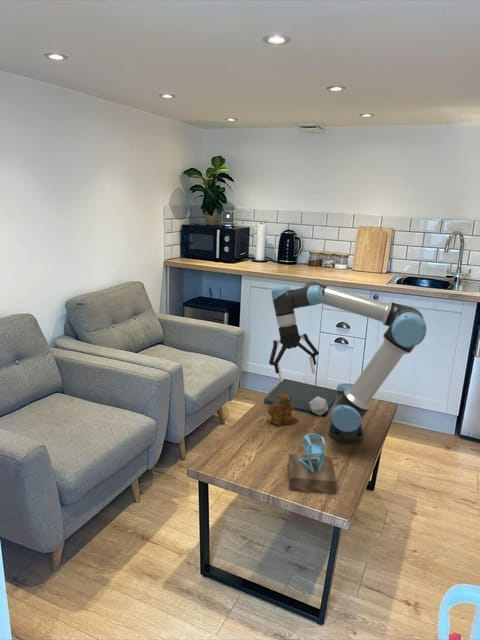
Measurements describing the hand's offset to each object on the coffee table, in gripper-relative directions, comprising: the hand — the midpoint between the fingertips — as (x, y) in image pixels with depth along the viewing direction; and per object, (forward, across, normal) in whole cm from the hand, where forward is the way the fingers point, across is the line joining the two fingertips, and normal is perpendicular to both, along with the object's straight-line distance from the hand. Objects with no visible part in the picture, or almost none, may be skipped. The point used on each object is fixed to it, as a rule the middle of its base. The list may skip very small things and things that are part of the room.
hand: (297, 377), depth 187 cm
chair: (+29, +5, +19) cm, 35 cm away
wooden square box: (+34, +6, +18) cm, 39 cm away
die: (+27, -13, -35) cm, 46 cm away
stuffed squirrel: (+24, +6, -26) cm, 36 cm away
